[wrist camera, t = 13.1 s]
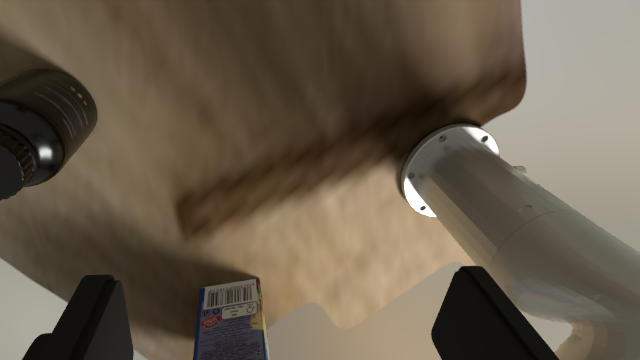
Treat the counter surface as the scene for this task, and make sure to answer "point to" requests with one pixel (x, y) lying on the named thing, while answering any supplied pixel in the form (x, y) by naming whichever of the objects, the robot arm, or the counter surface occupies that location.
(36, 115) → the supplement bottle
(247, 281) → the juice carton
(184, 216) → the counter surface
